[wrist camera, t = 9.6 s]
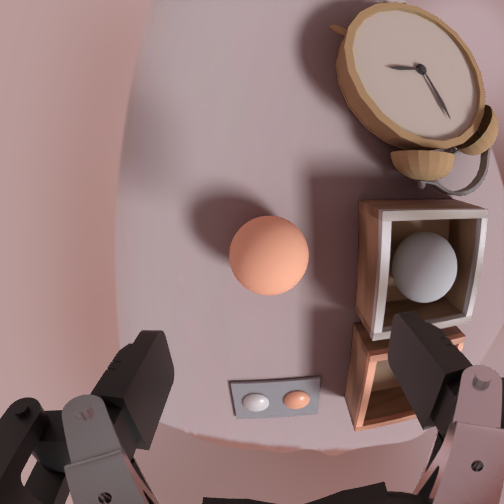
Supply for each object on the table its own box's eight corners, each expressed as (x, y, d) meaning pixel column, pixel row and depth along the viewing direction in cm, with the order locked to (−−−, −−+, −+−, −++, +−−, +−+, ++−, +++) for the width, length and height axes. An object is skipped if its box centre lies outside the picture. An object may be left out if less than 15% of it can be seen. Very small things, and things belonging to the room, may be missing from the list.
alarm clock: (425, -10, 12) (532, 160, 13) (407, 19, 17) (497, 165, 18) (306, 22, 14) (435, 229, 15) (304, 56, 19) (406, 224, 20)
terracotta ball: (229, 212, 21) (220, 228, 16) (301, 207, 21) (313, 222, 16) (236, 279, 22) (229, 311, 18) (303, 274, 22) (314, 306, 17)
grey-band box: (358, 200, 20) (382, 211, 16) (453, 199, 20) (488, 209, 16) (354, 309, 23) (372, 340, 18) (442, 297, 22) (469, 322, 18)
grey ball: (383, 225, 20) (413, 244, 16) (437, 223, 20) (474, 240, 15) (379, 288, 22) (404, 320, 17) (431, 282, 22) (463, 309, 17)
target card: (230, 381, 25) (230, 385, 25) (319, 376, 25) (320, 379, 24) (236, 416, 27) (236, 420, 26) (317, 411, 26) (317, 415, 26)
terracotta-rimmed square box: (353, 323, 23) (370, 356, 19) (440, 310, 23) (465, 336, 18) (344, 397, 26) (354, 431, 21) (421, 382, 25) (438, 411, 21)
